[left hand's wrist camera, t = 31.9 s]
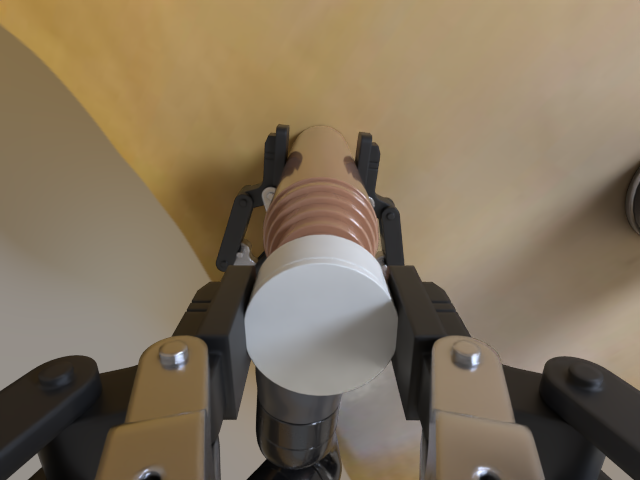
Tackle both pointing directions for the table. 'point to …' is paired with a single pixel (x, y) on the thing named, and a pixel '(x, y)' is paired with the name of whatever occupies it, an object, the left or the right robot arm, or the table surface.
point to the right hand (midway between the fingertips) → (324, 131)
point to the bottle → (320, 194)
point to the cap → (321, 316)
